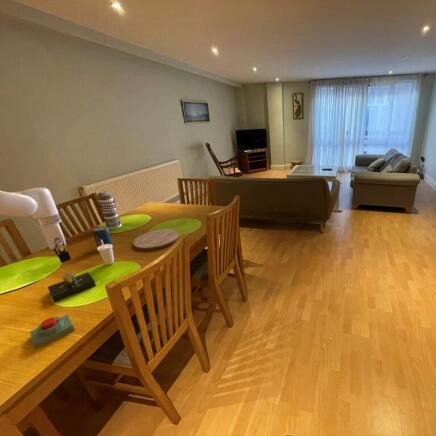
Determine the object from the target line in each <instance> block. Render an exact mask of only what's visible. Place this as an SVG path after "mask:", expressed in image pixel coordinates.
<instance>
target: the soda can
mask: <svg viewBox="0 0 436 436" xmlns="http://www.w3.org/2000/svg"><path fill="white" fill-rule="evenodd" d="M92 235H93V237H94V240H95V243H96V246H97V248H98V247H99V246H101V245H102V242H101V240H102V241H103V244H104V245H105V244H112V245H113V241H112V238H111V235H110V232H109V229H107V227H106V226H97V227H95V228H93V231H92Z"/></svg>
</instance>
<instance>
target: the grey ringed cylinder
mask: <svg viewBox="0 0 436 436" xmlns="http://www.w3.org/2000/svg"><path fill="white" fill-rule="evenodd" d="M96 197H97V200H98V206H99V209H100V211H101V213H102V214H103V220H104V222H105V223H104V224H105V227H106V228H107V229H108V230H114V229H118V228H120V227H122V222H121V219H120V216H119V214H118V211H117V210H118V209H117V206H116V205H117V204H116V199H115V198H114V197H113V195H112V192H110V191H108V190H106V191H105V190H103V191H100V192H98V193H97V194H96Z"/></svg>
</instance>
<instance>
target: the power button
mask: <svg viewBox="0 0 436 436" xmlns="http://www.w3.org/2000/svg"><path fill="white" fill-rule="evenodd" d="M55 318H56V317H49V318H46V319H44V320H43V321H41V323H40V324H41V326H42V328H43V329H49V328H51V327H53V326H55V325H56V324H57V321H56V319H55Z"/></svg>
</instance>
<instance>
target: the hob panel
mask: <svg viewBox="0 0 436 436" xmlns="http://www.w3.org/2000/svg"><path fill="white" fill-rule="evenodd" d="M75 279H76V281H77V282H76V283H75V284H74V285H71V286H66V284H65V282H64V280H63V281H60V282H57V283H54V284H51V285H49V286H47V289H48V291H49V294H50V296H51V298H52V300H53V303H58V302H60V301H63V300H65V299H67V298H69V297H70V298H71V297H72V296H74V295H77V294H80V293H82V292H84V290H85V291H87V290H89V289H92V288H94V287H97V284H96V281H95V279H94V278H93V277H92V275H91V274H90V273H89V271H87V272H84V273H82V274H78V275H76V276H75Z"/></svg>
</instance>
